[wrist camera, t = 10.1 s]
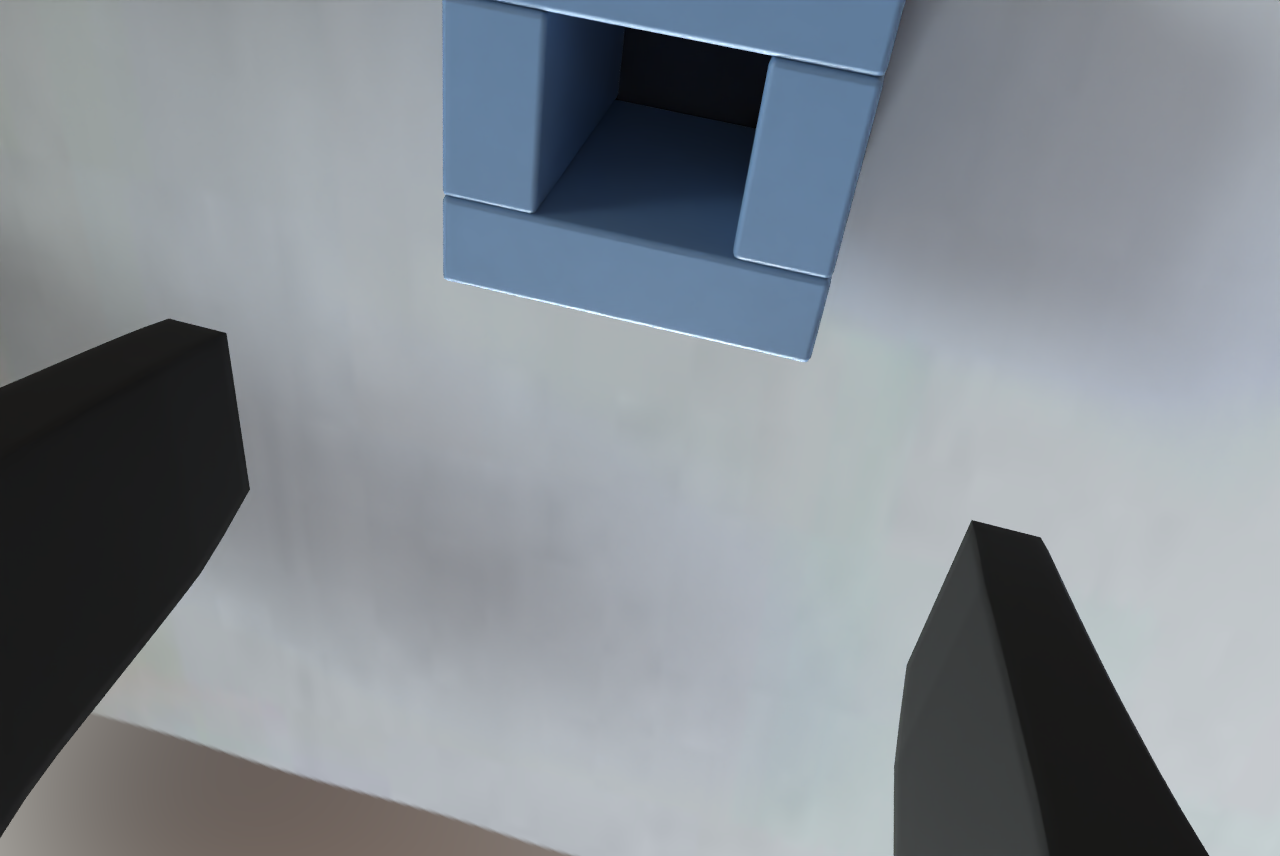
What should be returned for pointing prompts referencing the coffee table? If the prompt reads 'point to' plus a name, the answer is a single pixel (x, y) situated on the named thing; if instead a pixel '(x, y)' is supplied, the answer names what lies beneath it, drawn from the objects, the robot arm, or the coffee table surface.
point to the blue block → (658, 163)
